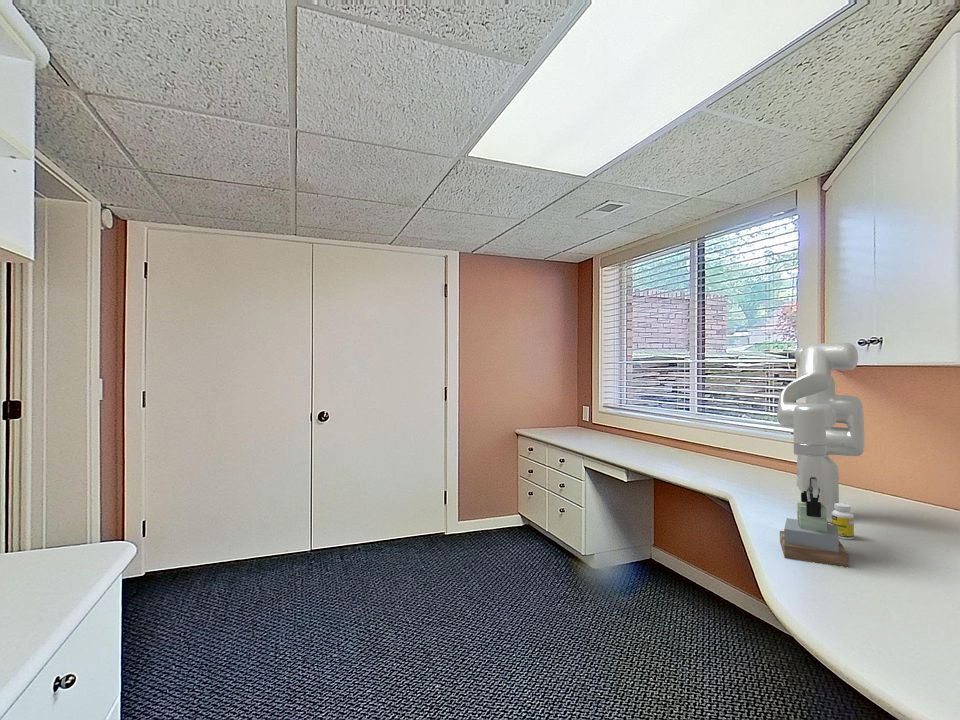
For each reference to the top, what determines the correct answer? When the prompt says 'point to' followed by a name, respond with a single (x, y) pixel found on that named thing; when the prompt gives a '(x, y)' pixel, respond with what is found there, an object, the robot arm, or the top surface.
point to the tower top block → (811, 536)
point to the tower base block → (814, 554)
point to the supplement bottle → (843, 521)
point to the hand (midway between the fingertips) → (810, 511)
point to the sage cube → (811, 518)
